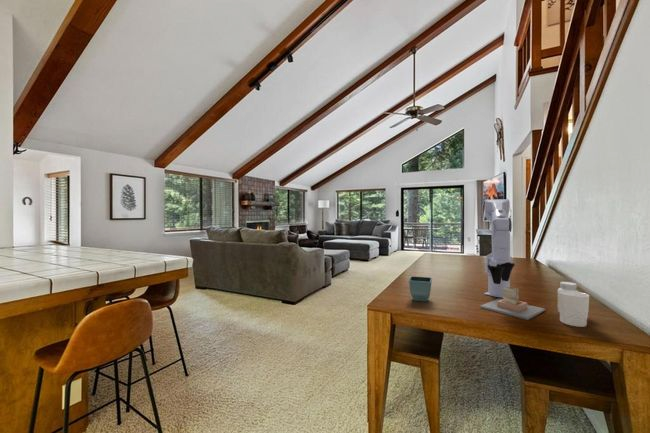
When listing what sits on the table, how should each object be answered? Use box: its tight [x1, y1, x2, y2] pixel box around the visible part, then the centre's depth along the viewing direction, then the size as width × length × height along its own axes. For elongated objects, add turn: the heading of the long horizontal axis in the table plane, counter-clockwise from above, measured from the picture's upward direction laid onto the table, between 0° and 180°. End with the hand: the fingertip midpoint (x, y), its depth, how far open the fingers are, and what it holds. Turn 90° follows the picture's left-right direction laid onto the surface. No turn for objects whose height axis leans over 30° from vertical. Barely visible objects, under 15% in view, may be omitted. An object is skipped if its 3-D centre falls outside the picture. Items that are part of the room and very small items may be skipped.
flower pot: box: [408, 275, 433, 303], centre depth 123 cm, size 9×9×9 cm
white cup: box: [557, 290, 590, 328], centre depth 97 cm, size 8×8×10 cm
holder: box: [480, 298, 546, 321], centre depth 111 cm, size 16×16×3 cm
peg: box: [502, 286, 519, 305], centre depth 111 cm, size 4×4×7 cm
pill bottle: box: [556, 281, 580, 313], centre depth 106 cm, size 6×6×11 cm
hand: (501, 282), depth 115 cm, fingers open, 7 cm apart
